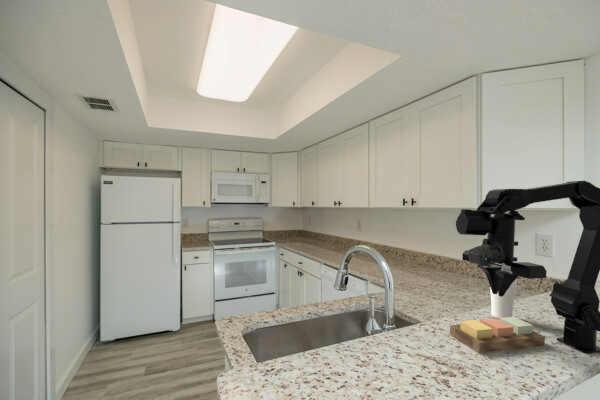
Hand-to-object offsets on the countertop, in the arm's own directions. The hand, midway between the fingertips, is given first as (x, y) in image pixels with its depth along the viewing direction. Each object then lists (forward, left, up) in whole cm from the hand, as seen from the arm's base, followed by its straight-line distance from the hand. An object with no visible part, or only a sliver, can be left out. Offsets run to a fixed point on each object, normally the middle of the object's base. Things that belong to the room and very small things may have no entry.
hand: (497, 295), depth 70 cm
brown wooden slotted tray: (0, 0, -12) cm, 12 cm away
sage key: (-7, 0, -10) cm, 12 cm away
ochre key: (+6, 0, -10) cm, 12 cm away
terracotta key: (0, 0, -10) cm, 10 cm away
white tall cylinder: (-15, -11, -12) cm, 22 cm away
